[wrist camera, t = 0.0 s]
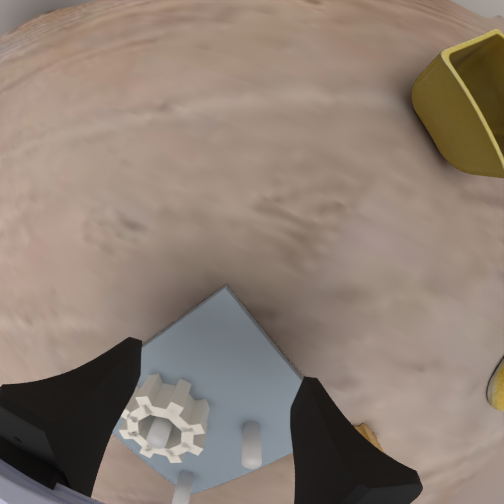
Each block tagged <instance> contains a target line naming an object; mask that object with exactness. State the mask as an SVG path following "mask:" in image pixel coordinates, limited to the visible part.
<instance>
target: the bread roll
mask: <svg viewBox="0 0 504 504" xmlns="http://www.w3.org/2000/svg"><path fill="white" fill-rule="evenodd" d="M487 397H488V401H489V403H490V405H491V406H492V407H493V408H494V409H496V410H500V411H504V358H503V360H502V361H501V363H500V364H499V366H498V367H497V369H496V371H495V373H494V374H493V376H492V378H491V380H490V382H489V385H488V391H487Z"/></svg>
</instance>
